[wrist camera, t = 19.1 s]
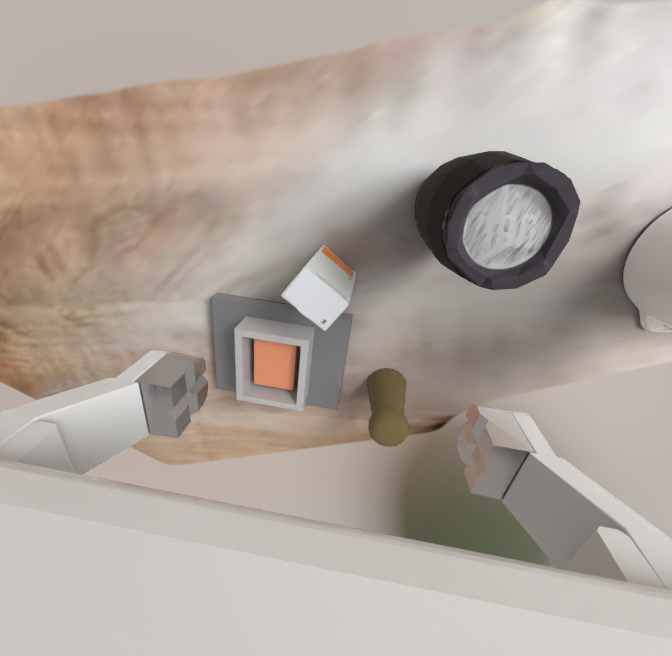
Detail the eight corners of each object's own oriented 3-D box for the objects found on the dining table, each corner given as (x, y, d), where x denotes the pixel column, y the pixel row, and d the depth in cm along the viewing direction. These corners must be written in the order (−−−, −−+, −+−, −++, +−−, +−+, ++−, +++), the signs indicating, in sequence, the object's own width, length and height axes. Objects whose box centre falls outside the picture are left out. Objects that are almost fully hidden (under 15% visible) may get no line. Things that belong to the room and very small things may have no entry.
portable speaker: (479, 147, 34) (589, 118, 16) (490, 231, 37) (591, 281, 20) (401, 176, 36) (425, 178, 18) (419, 253, 39) (454, 316, 22)
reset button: (299, 337, 45) (296, 344, 43) (296, 382, 48) (293, 390, 46) (259, 331, 45) (254, 337, 43) (258, 375, 49) (254, 383, 47)
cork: (384, 405, 51) (385, 460, 41) (359, 382, 49) (355, 433, 40) (413, 386, 49) (423, 440, 39) (388, 361, 47) (391, 410, 37)
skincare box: (358, 272, 42) (351, 306, 31) (337, 294, 43) (324, 333, 33) (322, 241, 40) (303, 266, 30) (303, 265, 42) (278, 297, 31)
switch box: (352, 314, 44) (349, 333, 39) (338, 401, 52) (334, 427, 46) (217, 292, 45) (196, 308, 40) (222, 381, 53) (205, 404, 47)
